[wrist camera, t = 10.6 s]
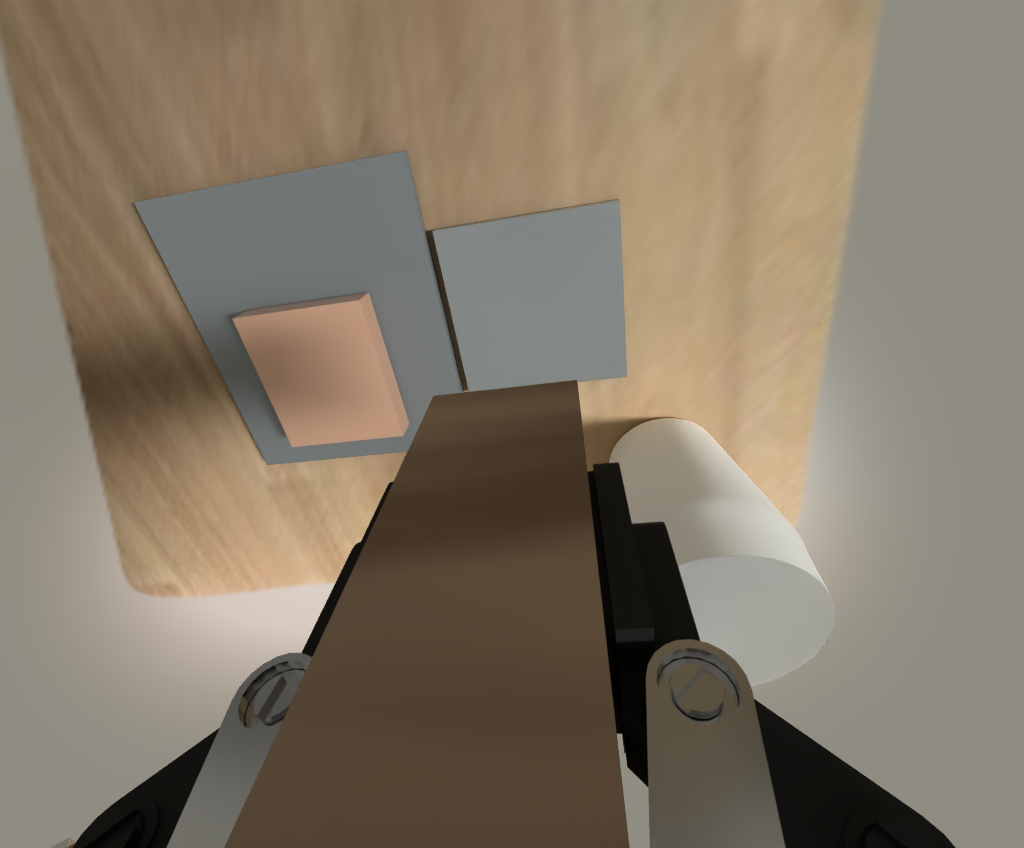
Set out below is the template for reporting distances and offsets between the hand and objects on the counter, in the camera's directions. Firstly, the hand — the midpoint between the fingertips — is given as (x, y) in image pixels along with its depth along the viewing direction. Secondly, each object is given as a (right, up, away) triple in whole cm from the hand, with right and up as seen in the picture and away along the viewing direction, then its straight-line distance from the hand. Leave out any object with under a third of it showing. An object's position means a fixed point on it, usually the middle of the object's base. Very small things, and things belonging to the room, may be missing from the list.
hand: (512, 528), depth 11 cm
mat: (-10, +7, +16) cm, 21 cm away
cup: (+9, 0, +19) cm, 21 cm away
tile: (-11, +8, +14) cm, 20 cm away
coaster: (+1, +9, +15) cm, 17 cm away
